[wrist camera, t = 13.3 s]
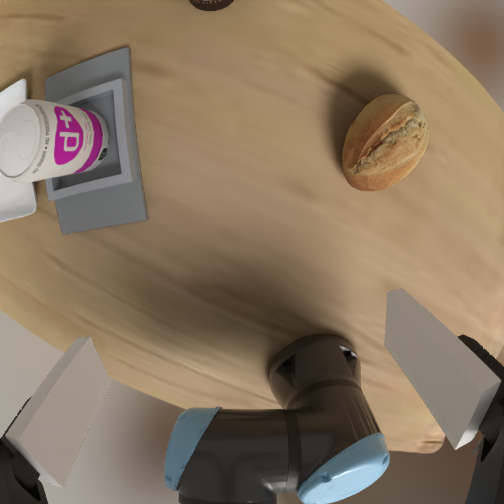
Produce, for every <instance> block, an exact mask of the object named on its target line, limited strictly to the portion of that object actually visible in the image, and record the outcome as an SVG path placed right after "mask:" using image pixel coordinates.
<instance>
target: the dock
mask: <svg viewBox="0 0 504 504" xmlns="http://www.w3.org/2000/svg"><path fill="white" fill-rule="evenodd" d="M45 101H48V102H53V103H58V104H63V105H68V106H72V107H77V108H81V109H85V110H89V111H94V112H97V113H98V114H100V115H101V116H103V117H104V118H105V120H106V121H107V123H108V124H109V128H110V133H111V141H110V147H109V150H108V153H107V155H106V157H105V158H104V160H103V161H102V162H101V164H100V165H99V166H97V167H96V168H94V169H93V170H91V171H86V172H82V173H76V174H70V175H64V176H59V177H53V178H48V179H45V182H46V188H47V194H48V200H49V201H52V200H55V203H56V208H57V213H58V218H59V223H60V228H61V232H62V235H65V234H70V233H75V232H81V231H86V230H92V229H98V228H103V227H109V226H115V225H121V224H127V223H133V222H140V221H146V220H148V219H149V218H148V213H147V207H146V201H145V195H144V188H143V182H142V175H141V168H140V160H139V153H138V144H137V136H136V126H135V116H134V104H133V90H132V73H131V49H130V48H129V47H126V48H122V49H119V50H116V51H113V52H110V53H107V54H104V55H101V56H98V57H96V58H93V59H90V60H88V61H85V62H83V63H80V64H78V65H75V66H73V67H70V68H68V69H66V70H63V71H61V72H59V73H57V74H54V75H52V76H50V77H48V78H46V79H45Z"/></svg>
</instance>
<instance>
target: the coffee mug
mask: <svg viewBox="0 0 504 504" xmlns="http://www.w3.org/2000/svg"><path fill="white" fill-rule="evenodd" d="M233 1H234V0H190V2H191V3H192V5H193V6H195V7H196V8H198V9H200V10H204V11H216V10H220V9H223V8H225V7H227V6H228V5H230V4H231V3H232V2H233Z"/></svg>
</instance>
